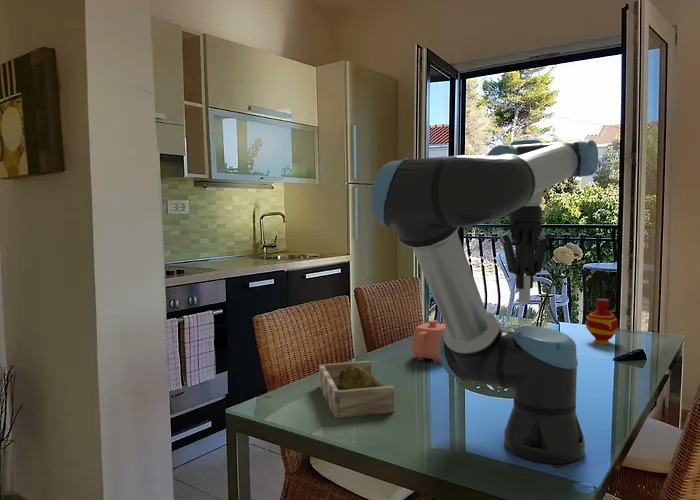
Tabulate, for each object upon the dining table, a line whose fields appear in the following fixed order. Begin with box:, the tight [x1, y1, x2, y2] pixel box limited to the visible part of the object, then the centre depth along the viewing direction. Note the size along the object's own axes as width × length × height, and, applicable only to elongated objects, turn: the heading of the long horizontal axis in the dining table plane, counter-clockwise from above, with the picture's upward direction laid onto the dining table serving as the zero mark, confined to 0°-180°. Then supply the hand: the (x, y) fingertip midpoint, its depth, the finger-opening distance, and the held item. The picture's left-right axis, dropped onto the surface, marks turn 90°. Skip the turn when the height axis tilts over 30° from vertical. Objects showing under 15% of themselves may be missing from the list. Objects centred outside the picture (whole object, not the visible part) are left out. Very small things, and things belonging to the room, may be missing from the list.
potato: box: [339, 366, 384, 390], centre depth 135 cm, size 8×13×8 cm, turn 34°
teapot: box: [411, 319, 446, 364], centre depth 171 cm, size 20×12×12 cm, turn 145°
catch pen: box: [318, 360, 395, 419], centre depth 137 cm, size 22×14×6 cm, turn 12°
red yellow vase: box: [584, 298, 619, 345], centre depth 186 cm, size 10×10×15 cm
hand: (524, 301), depth 133 cm, fingers closed
